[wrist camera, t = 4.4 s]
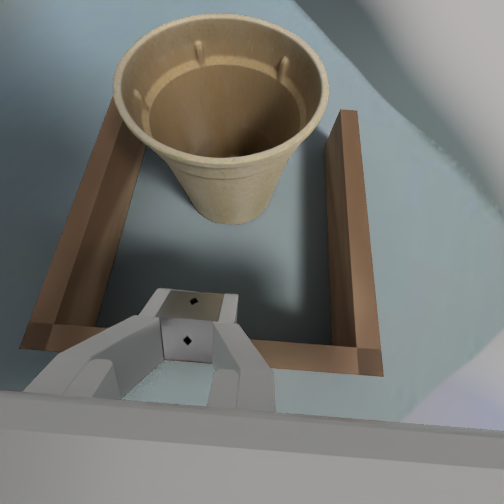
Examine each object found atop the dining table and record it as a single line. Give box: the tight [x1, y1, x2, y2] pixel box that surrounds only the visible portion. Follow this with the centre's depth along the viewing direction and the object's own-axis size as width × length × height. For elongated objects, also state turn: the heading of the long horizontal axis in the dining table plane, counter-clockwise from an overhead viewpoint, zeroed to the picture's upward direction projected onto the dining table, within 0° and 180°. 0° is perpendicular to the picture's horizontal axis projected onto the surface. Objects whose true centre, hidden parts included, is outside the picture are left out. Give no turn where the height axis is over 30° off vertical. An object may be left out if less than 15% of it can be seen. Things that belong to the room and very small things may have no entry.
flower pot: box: [113, 14, 329, 225], centre depth 15 cm, size 9×9×9 cm
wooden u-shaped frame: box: [19, 97, 384, 377], centre depth 16 cm, size 17×17×4 cm
